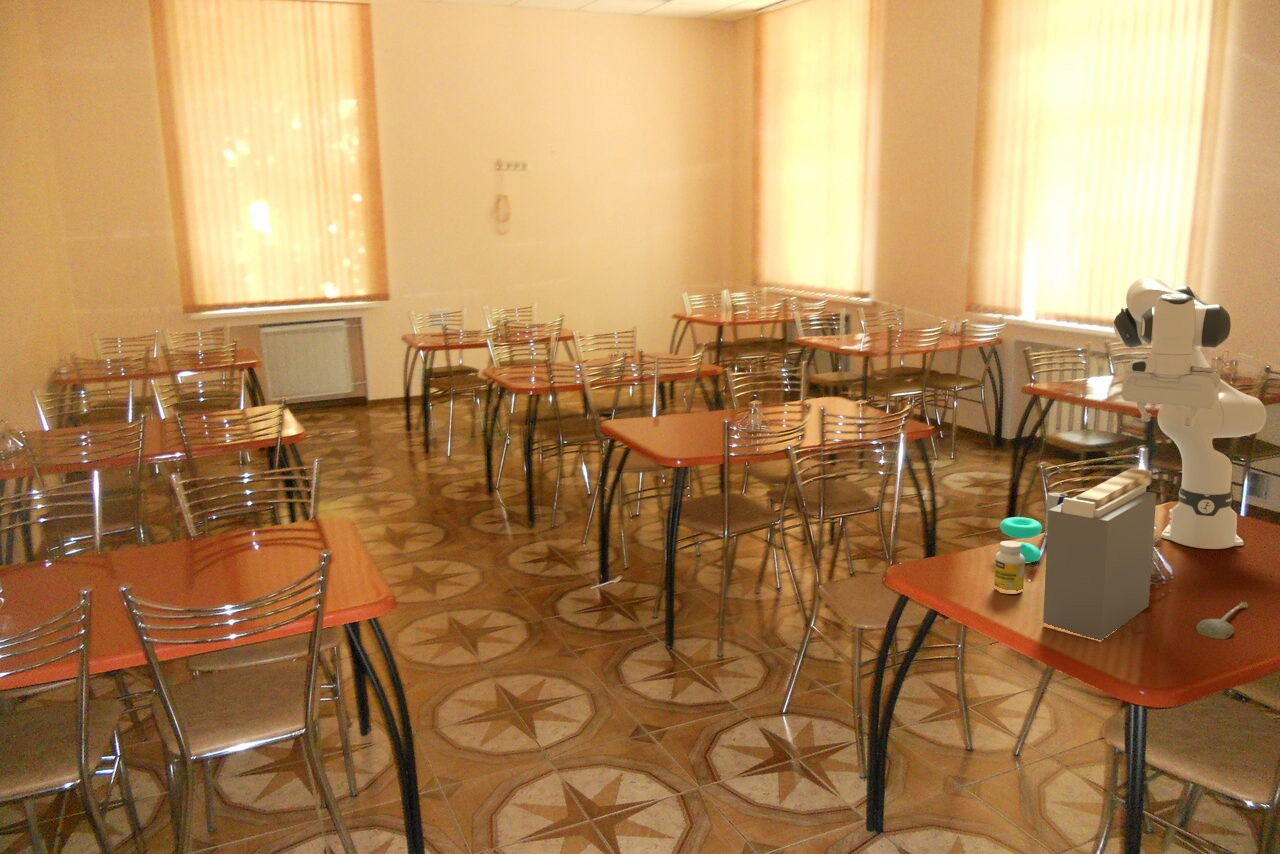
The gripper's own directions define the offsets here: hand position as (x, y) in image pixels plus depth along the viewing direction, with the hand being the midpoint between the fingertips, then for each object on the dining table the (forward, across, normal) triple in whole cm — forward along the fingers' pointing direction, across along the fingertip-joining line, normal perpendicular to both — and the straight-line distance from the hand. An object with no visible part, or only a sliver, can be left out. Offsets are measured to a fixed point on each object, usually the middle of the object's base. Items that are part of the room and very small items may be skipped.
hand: (1167, 423), depth 228 cm
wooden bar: (+11, 0, +30) cm, 32 cm away
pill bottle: (+37, +21, +33) cm, 54 cm away
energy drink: (+37, +30, -12) cm, 50 cm away
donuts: (+37, +29, +11) cm, 49 cm away
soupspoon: (+38, -21, +20) cm, 48 cm away
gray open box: (+37, 0, +35) cm, 51 cm away
